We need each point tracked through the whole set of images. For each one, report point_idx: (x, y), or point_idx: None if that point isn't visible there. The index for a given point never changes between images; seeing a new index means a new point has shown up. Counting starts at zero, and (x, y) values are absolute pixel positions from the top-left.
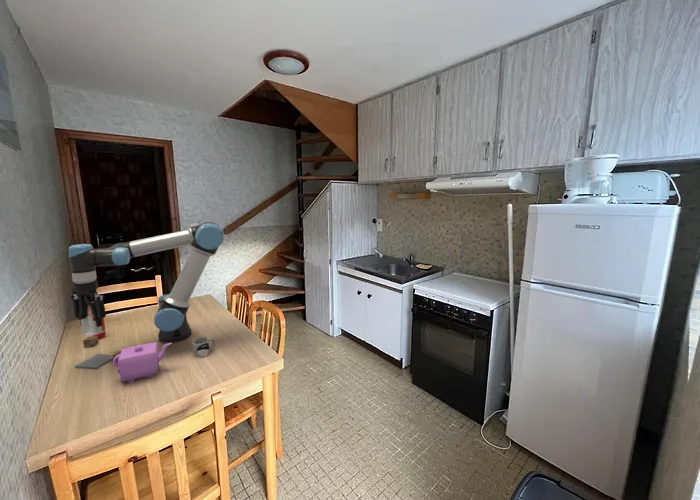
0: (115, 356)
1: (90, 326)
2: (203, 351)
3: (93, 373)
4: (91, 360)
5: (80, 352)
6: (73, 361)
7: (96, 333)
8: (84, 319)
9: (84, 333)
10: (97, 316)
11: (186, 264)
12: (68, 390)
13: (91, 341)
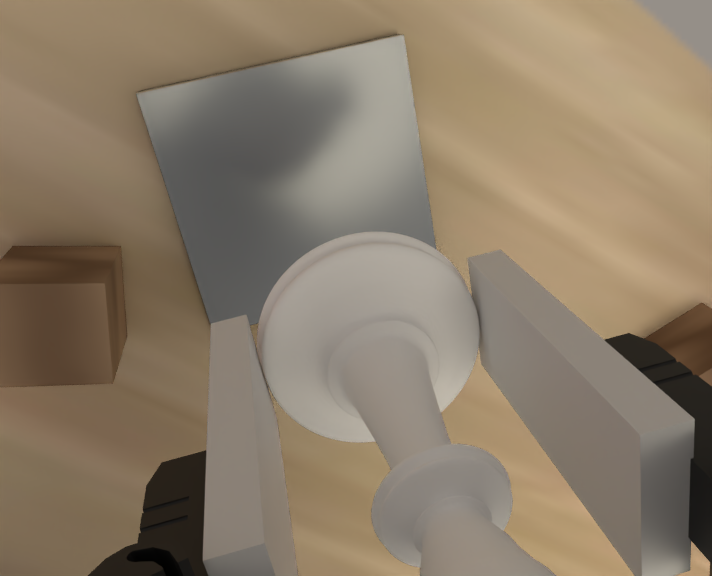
0: (51, 277)
1: (399, 401)
2: None
3: (66, 22)
4: (357, 173)
5: (654, 242)
6: (547, 110)
7: (211, 344)
8: (631, 477)
9: (471, 263)
10: None
11: None
12: None
13: None
